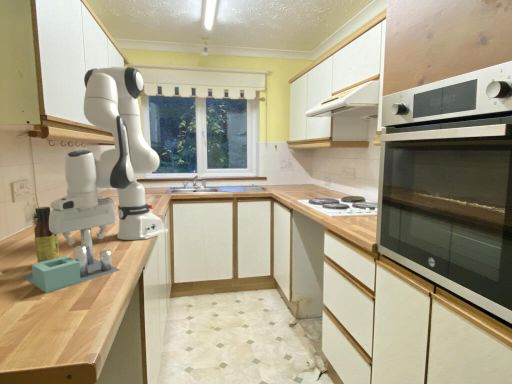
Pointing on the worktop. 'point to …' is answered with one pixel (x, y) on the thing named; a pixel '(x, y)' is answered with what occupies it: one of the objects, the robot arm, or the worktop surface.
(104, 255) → the short pin
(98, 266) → the mat
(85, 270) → the medium pin
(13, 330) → the worktop surface
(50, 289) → the block
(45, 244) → the sauce bottle
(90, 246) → the long pin
